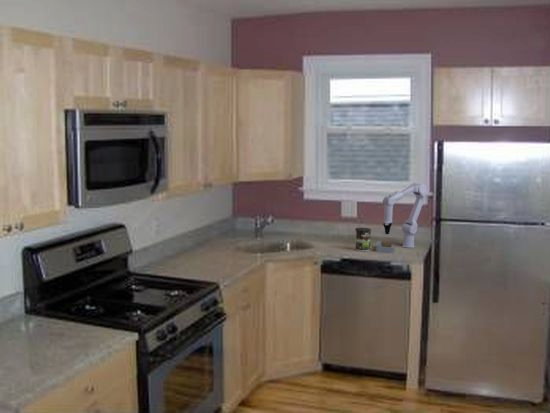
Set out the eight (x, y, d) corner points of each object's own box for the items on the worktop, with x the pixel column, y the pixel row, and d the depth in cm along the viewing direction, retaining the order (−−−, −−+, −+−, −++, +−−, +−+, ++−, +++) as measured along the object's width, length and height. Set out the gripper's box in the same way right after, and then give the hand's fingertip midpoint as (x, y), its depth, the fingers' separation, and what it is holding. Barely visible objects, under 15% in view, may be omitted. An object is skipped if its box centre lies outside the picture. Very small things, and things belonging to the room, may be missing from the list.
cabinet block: (381, 250, 416) (382, 241, 415) (391, 250, 414) (391, 242, 413) (380, 251, 411) (381, 242, 411) (390, 252, 410) (391, 243, 409)
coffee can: (372, 250, 413) (373, 229, 411) (359, 251, 409) (360, 230, 407) (365, 247, 422) (365, 227, 420) (351, 248, 418) (352, 227, 416)
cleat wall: (378, 246, 428) (378, 240, 427) (395, 247, 424) (395, 241, 424) (375, 251, 410) (375, 245, 410) (393, 252, 407) (393, 247, 407)
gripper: (383, 212, 426) (382, 231, 428) (381, 215, 412) (380, 235, 414) (393, 213, 424) (392, 232, 426) (391, 216, 410) (390, 236, 412)
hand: (387, 234), depth 420 cm, fingers closed
